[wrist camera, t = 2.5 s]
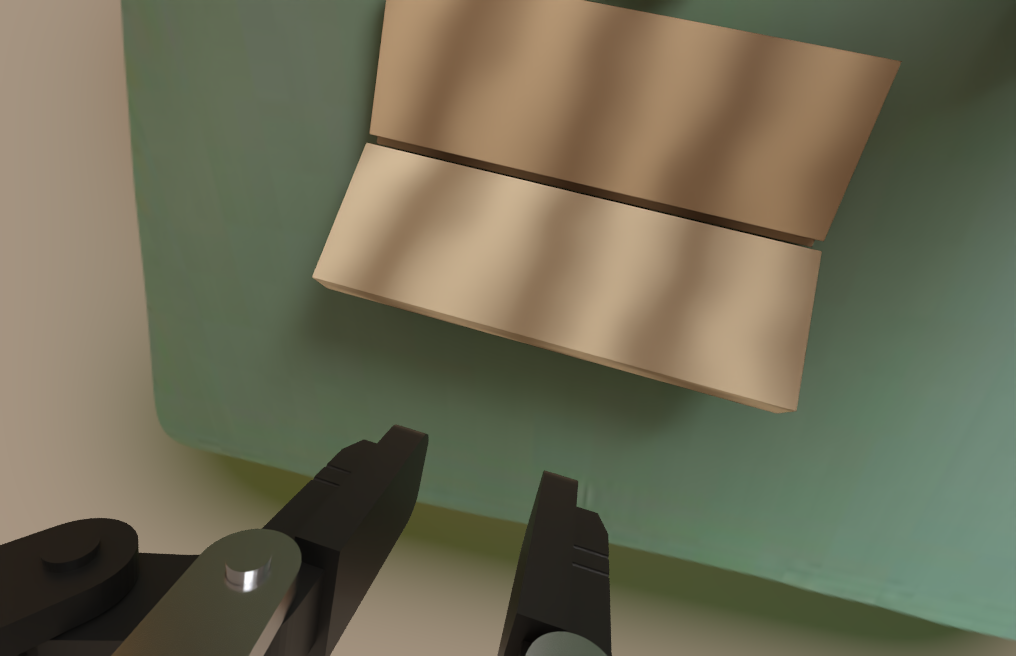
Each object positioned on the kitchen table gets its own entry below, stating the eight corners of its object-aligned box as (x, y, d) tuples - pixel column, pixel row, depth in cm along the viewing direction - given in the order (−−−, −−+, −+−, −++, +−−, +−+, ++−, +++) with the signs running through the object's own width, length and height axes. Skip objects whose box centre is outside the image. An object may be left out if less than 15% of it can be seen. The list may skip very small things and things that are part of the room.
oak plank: (801, 264, 25) (821, 251, 23) (776, 413, 23) (796, 411, 21) (377, 161, 27) (366, 142, 26) (327, 288, 26) (312, 277, 24)
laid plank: (878, 71, 22) (901, 61, 21) (805, 245, 25) (820, 249, 23) (404, -21, 25) (390, -37, 23) (382, 144, 27) (368, 141, 26)
